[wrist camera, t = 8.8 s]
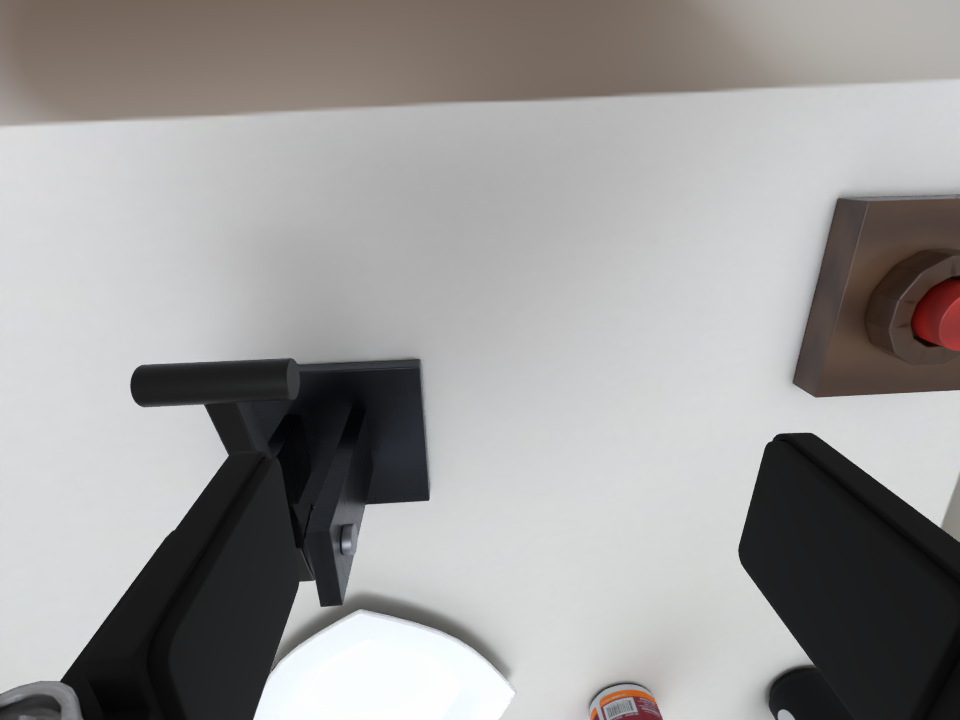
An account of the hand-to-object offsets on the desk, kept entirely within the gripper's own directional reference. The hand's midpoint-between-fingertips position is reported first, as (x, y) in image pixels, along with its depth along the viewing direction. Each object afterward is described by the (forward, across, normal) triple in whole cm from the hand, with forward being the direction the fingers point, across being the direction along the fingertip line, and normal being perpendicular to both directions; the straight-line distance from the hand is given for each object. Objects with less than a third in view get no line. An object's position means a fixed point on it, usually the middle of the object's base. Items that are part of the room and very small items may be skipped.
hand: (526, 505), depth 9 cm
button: (+17, -27, +2) cm, 32 cm away
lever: (+11, +9, +6) cm, 15 cm away
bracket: (+21, +9, +11) cm, 25 cm away
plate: (+21, +8, +36) cm, 42 cm away
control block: (+21, -27, +2) cm, 34 cm away
